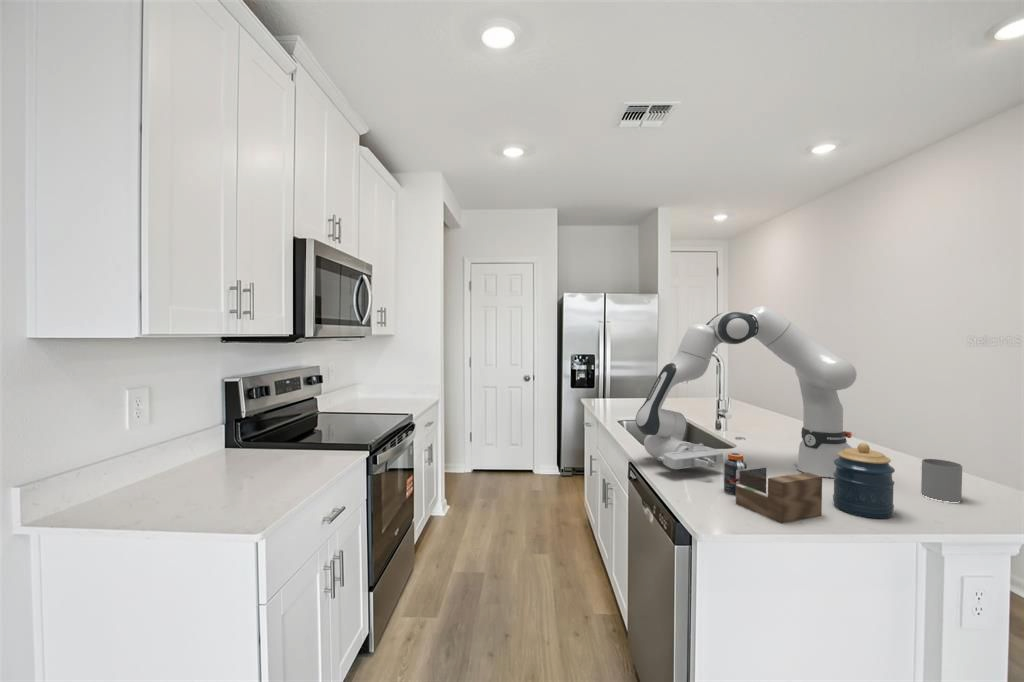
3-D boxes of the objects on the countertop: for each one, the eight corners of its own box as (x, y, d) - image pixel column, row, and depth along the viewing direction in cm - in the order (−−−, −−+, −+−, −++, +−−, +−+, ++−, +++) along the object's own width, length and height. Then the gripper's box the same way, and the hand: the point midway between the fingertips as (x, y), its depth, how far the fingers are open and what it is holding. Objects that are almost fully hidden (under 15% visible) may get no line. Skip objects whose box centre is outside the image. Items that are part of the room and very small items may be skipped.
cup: (951, 494, 137) (952, 460, 136) (968, 504, 129) (969, 468, 129) (915, 491, 139) (916, 457, 139) (929, 501, 132) (930, 465, 131)
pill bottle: (749, 496, 135) (749, 457, 135) (726, 495, 136) (727, 456, 136) (743, 489, 141) (743, 451, 140) (721, 488, 142) (722, 450, 142)
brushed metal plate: (762, 494, 136) (762, 466, 135) (766, 495, 134) (766, 467, 134) (728, 499, 131) (729, 470, 131) (732, 501, 130) (732, 472, 130)
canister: (897, 523, 116) (899, 452, 116) (833, 512, 123) (835, 445, 123) (889, 506, 127) (891, 441, 127) (831, 497, 134) (832, 435, 134)
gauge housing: (773, 497, 134) (774, 462, 134) (821, 515, 121) (822, 476, 121) (735, 503, 129) (736, 467, 129) (781, 523, 116) (782, 482, 116)
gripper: (654, 447, 157) (684, 458, 144) (704, 442, 164) (735, 452, 151) (654, 466, 157) (683, 479, 144) (703, 460, 164) (735, 471, 151)
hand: (711, 465), depth 147 cm, fingers closed
